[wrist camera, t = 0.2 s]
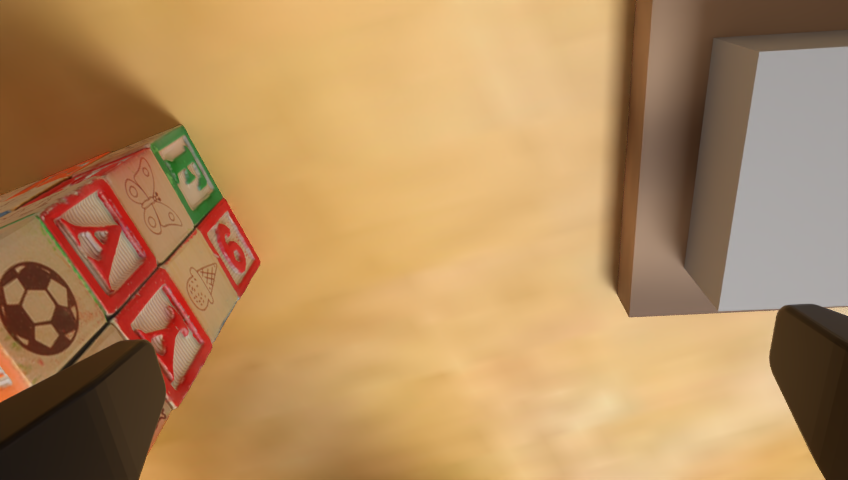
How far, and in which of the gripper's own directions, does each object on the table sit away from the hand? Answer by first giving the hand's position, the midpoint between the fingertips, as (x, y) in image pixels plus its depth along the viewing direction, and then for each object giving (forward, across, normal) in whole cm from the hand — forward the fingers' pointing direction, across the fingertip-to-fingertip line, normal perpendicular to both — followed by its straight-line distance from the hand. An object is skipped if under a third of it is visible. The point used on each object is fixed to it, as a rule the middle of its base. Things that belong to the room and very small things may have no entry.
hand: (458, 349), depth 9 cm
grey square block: (+13, -12, +2) cm, 18 cm away
